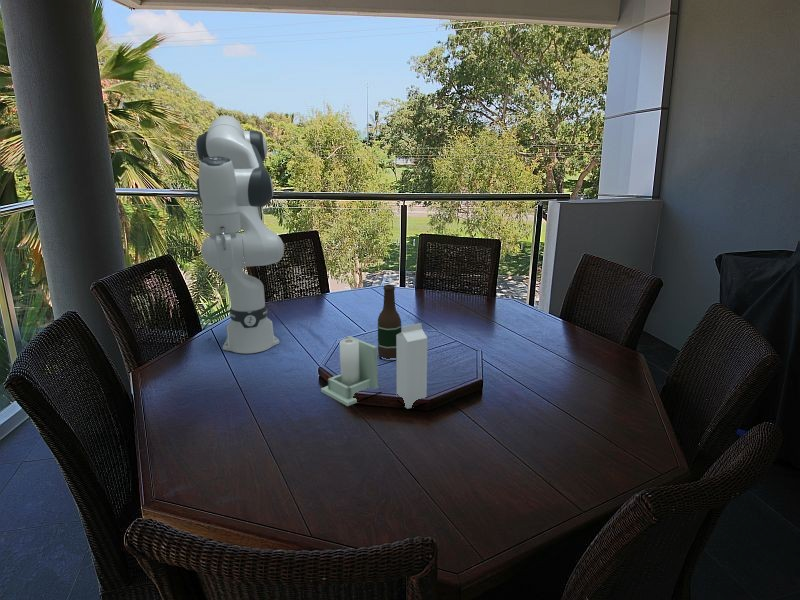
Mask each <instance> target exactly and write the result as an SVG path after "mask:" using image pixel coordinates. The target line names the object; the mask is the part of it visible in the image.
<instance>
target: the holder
mask: <svg viewBox="0 0 800 600" xmlns="http://www.w3.org/2000/svg"><path fill="white" fill-rule="evenodd" d="M346 338H354V339H357V340H358V341H359V370H360V383H357V384H355V385H352V386H349V387H348V386H346V385H344V384H342V383H341V373H340V374H337V375H334V376H332V377H329V378H327V385H326V386H324V387H321V388H320V392H321V393H323V394H325V395H326V396H328V397H329V398H331V399H334V400H335V401H337V402H338V403H341V404H342V405H345V406H346V407H349V406H352V405H354V404H358V402H357V399H356V398H353V396H354V394H355V393H356V392H359V391H361V390H365V389H367V388H370V387H372V388H374V389H376V388H379V382H378V381H379V379H378V376H379V375H378V374H379V373H378V372H379V371H378V345H373V344H371V343H368V342H366V341H363V340H361V339H359V338H356V337H354V336H352V335H347V336H345V339H346Z"/></svg>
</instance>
